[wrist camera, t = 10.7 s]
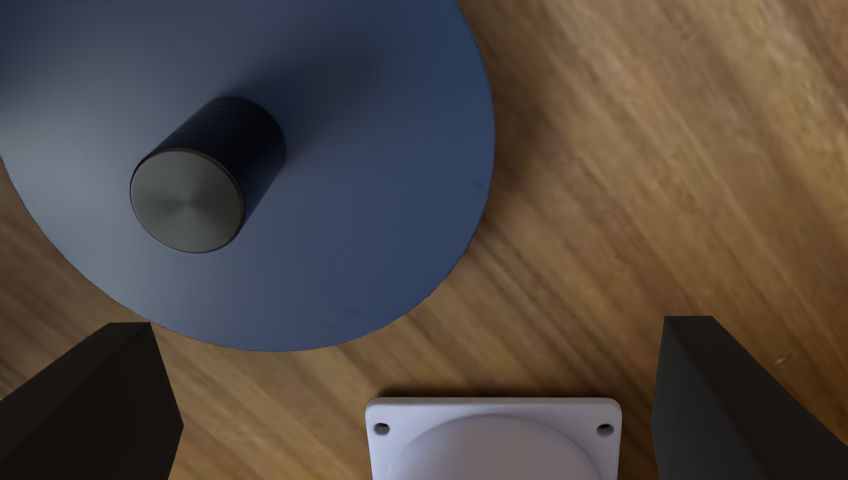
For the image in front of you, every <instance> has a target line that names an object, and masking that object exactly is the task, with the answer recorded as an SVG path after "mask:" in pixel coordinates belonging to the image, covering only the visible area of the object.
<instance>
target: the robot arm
mask: <svg viewBox="0 0 848 480" xmlns="http://www.w3.org/2000/svg"><path fill="white" fill-rule="evenodd" d="M365 419H366V427H367V435H368V442H369V450H370V458H371V466H372V474H373V480H617V474H618V462H619V450H620V439H621V427H622V412H621V408H620V405H619V404H618V403H617V401H615V400H613V399H610V398H510V397H379V398H374V399H372V400H371V401H369V403H368V404H367V408H366V413H365ZM377 423H386V424H387V425H388V426H386V427H382V426H379V425H378V424H377ZM602 424H609V425H610V426H608V427H606V428H600V427H598V426H600V425H602ZM183 427H184V425H183V422H182V418H181V415H180V412H179V409H178V406H177V403H176V400H175V397H174V394H173V391H172V388H171V385H170V382H169V379H168V376H167V373H166V369H165V366H164V363H163V360H162V357H161V354H160V351H159V348H158V345H157V342H156V339H155V336H154V333H153V330H152V327H151V324H150V322H125V323H108V324H107V325H105V326H104V327H102V328H101V329H99V330H97V331H96V332H94V333H93V334H92V335H90V336H89V337H87V338H86V339H84V340H83V341H82V342H80V343H79V344H77V345H76V346H75V347H73V348H72V349H70V350H69V351H68V352H66V353H65V354H64V355H62V356H61V357H59V358H58V359H57V360H55V361H54V362H53V363H51V364H50V365H49V366H47V367H46V368H45V369H43V370H42V371H41V372H39V373H38V374H37V375H35V376H34V377H33V378H31V379H30V380H28V381H27V382H26V383H24V384H23V385H22V386H20V387H19V388H18V389H16V390H15V391H13V392H12V393H11V394H9V395H8V396H7V397H5V398H4V399H3V400H1V401H0V480H168V477H169V474H170V471H171V468H172V465H173V462H174V458H175V455H176V451H177V448H178V444H179V441H180V437H181V434H182V430H183ZM650 429H651V435H652V441H653V446H654V452H655V457H656V463H657V468H658V473H659V478H660V480H848V447H847V446H846V445H845V444H844V443H843V442H842V441H840V440H839V439H838V438H837V437H836V436H835V435H834V434H833V433H832V432H830V431H829V430H828V429H827V428H826V427H825V426H824V425H823V424H822V423H821V422H820V421H819V420H818V419H816V418H815V417H814V416H813V415H812V414H811V413H810V412H809V411H808V410H807V409H806V408H805V407H804V406H802V405H801V404H800V403H799V402H798V401H797V400H796V399H795V398H794V397H793V396H792V395H791V394H790V393H789V392H788V391H787V390H786V389H785V388H784V387H783V386H782V385H781V384H780V383H779V382H778V381H777V380H776V379H775V378H774V377H773V376H772V375H771V374H770V373H768V372H767V371H766V370H765V369H764V368H763V367H762V366H761V365H760V364H759V363H758V362H757V361H756V360H755V359H754V358H753V357H752V356H751V355H750V354H749V353H748V352H747V351H746V350H745V348H744V347H743V346H742V345H741V344H740V343H739V342H738V341H737V340H736V339H735V338H734V337H733V336H732V335H731V334H730V333H729V332H728V331H727V330H726V329H725V328H724V327H722V326H721V325H720V324H719V323H718V322H717V321H716V320H715V319H714V318H713V317H712V316H665V318H664V325H663V333H662V340H661V348H660V355H659V363H658V370H657V378H656V385H655V393H654V400H653V408H652V415H651V423H650Z"/></svg>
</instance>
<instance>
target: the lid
mask: <svg viewBox="0 0 848 480" xmlns="http://www.w3.org/2000/svg"><path fill="white" fill-rule="evenodd" d="M495 147H496V124H495V112H494V100H493V93H492V89H491V84H490V80H489V75H488V71H487V66H486V62H485V60H484V57H483V54H482V51H481V49H480V46H479V43H478V40H477V38H476V35H475V32H474V30H473V28H472V26H471V24H470V22H469V20H468V18H467V16H466V14H465V12H464V10H463V8H462V7H461V5H460V3H459V1H458V0H0V157H1V159H2V162H3V164H4V167H5V169H6V171H7V174H8V176H9V179H10V181H11V183H12V185H13V186H14V188H15V190H16V192H17V194H18V195H19V197H20V199H21V201H22V203H23V204H24V206H25V208H26V210H27V211H28V213H29V214H30V215H31V217H32V218H33V220H34V221H35V222H36V224H37V225H38V227H39V228H40V230H41V231H42V232H43V234H44V235H45V236H46V238H47V239H48V240H49V241H50V242H51V243H52V244H53V246H54V247H55V248H56V249H57V250H58V251H59V252H60V254H61V255H62V256H63V257H64V258H65V259H66V260H67V261H68V262H69V263H70V264H71V265H72V266H73V267H74V268H75V269H76V270H78V271H79V272H80V273H81V274H82V275H83V276H84V277H85V278H86V279H87V280H88V281H90V282H91V283H92V284H93V285H95V286H96V287H97V288H99V289H100V290H101V291H103V292H104V293H105V294H107V295H108V296H109V297H110V298H112V299H113V300H115V301H116V302H118V303H120V304H121V305H123V306H124V307H126V308H128V309H129V310H131V311H133V312H134V313H136V314H137V315H139V316H141V317H143V318H145V319H147V320H149V321H151V322H153V323H155V324H157V325H159V326H161V327H164V328H166V329H168V330H171V331H174V332H176V333H179V334H182V335H184V336H187V337H190V338H192V339H196V340H200V341H203V342H207V343H211V344H215V345H219V346H223V347H230V348H236V349H242V350H249V351H268V352H286V351H303V350H310V349H316V348H322V347H327V346H333V345H336V344H340V343H343V342H346V341H350V340H353V339H356V338H359V337H362V336H364V335H366V334H369V333H371V332H373V331H375V330H378V329H380V328H382V327H384V326H386V325H388V324H389V323H391V322H393V321H394V320H396V319H398V318H399V317H401V316H403V315H404V314H406V313H408V312H409V311H410V310H411V309H413V308H414V307H415V306H416V305H418V304H419V303H420V302H421V301H423V300H424V299H425V298H426V297H428V296H429V295H430V294H431V293H432V292H433V291H434V290H435V289H436V288H437V286H438V285H439V284H440V283H441V282H442V281H443V280H444V279H445V278H446V277H447V276H448V275H449V274H450V272H451V271H452V269H453V268H454V267H455V265H456V264H457V262H458V261H459V260H460V258H461V257H462V255H463V254H464V253H465V251H466V249H467V247H468V245H469V243H470V241H471V239H472V237H473V236H474V234H475V232H476V230H477V228H478V226H479V223H480V220H481V217H482V214H483V212H484V209H485V206H486V203H487V200H488V197H489V192H490V187H491V182H492V177H493V172H494V166H495Z"/></svg>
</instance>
